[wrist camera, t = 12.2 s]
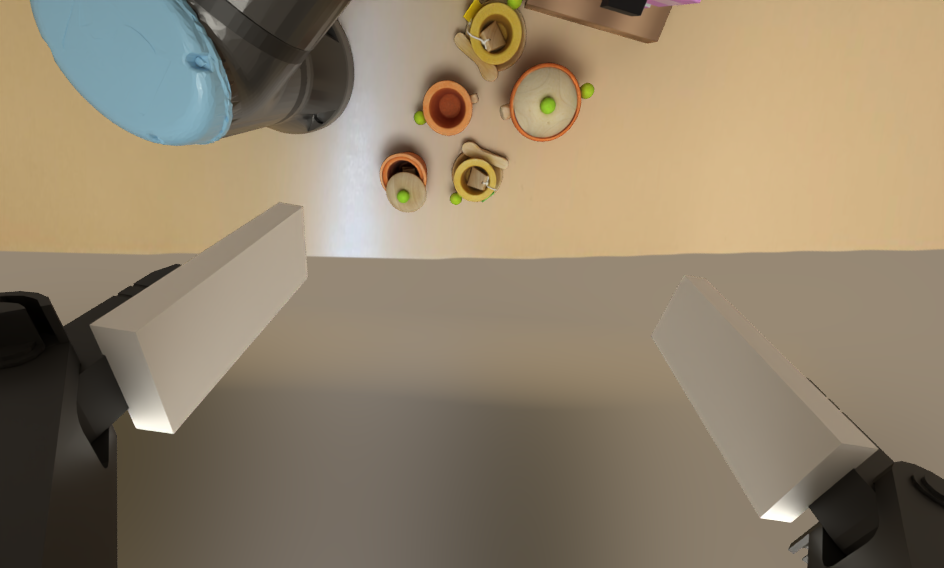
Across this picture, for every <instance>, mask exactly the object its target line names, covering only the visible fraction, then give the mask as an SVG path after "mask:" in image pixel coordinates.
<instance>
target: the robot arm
mask: <svg viewBox="0 0 944 568" xmlns="http://www.w3.org/2000/svg"><path fill="white" fill-rule="evenodd" d="M350 2H351V0H30V3H31V8H32V12H33V15H34V18H35V21H36V24H37V27H38V29H39V32H40V34H41V36H42V38H43V39H44V40H45V42H46V43H47V44H48V46H49V48H50V49H51V52H52V54H53V57H54V60H55V62H56V64H57V65H58V66H59V68H60V69H61V71H62V72H63V74H64V75H65V76H66V78H67V79H68V80H69V82H70V83H71V84H72V85H73V86H74V88H75V89H76V90H77V91H78V92H79V93H80V94H81V95H82V96H83V97H84V98H85V99H86V100H87V101H88V102H89V103H90V104H91V105H92V106H93V107H94V108H95V109H96V110H98V111H99V112H100V113H101V114H102V115H104V116H105V117H106V118H107V119H109V120H110V121H112V122H113V123H114V124H116V125H118V126H119V127H121V128H122V129H124V130H126V131H128V132H130V133H131V134H134V135H136V136H138V137H140V138H142V139H145V140H148V141H151V142H154V143H159V144H163V145H173V146H182V145H193V144H200V145H201V144H209V143H214V141H218V140H219V139H221V138H225V137H229V136H232V135H236V134H240V133H244V132H248V131H251V130H255V129H259V128H263V127H268V128H271V129H273V130H276V131H279V132H283V133H289V134H305V133H310V132H313V131H317V130H319V129H322V128H324V127H326V126H328V125H330V124H331V123H333V122H334V121H335V120H336V119H337V118H338V117H339V116H340V115H341V114H342V112H343V111H344V110H345V108H346V106H347V104H348V102H349V99H350V96H351V93H352V89H353V81H354V67H353V59H352V54H351V50H350V46H349V43H348V41H347V38H346V36H345V33H344V31H343V29H342V27H341V26H340V24H339V22H338V21H337V18H338V17H339V16H340V14H341V13H342V12H343V11H344V9H345V8H346V7H347V5H348V4H349V3H350ZM307 278H308V277H307V262H306V246H305V230H304V214H303V206H298V205H292V204H287V203H281V202H279V203H277V204H276V205H274V206H273V207H271V208H270V209H268V210H266V211H265V212H263V213H262V214H260V215H259V216H257V217H256V218H254V219H253V220H251V221H249V222H248V223H246V224H245V225H243V226H242V227H240V228H239V229H237V230H236V231H234V232H232V233H231V234H229V235H228V236H226V237H225V238H223V239H222V240H220V241H218V242H217V243H215V244H214V245H212V246H211V247H209V248H208V249H206V250H205V251H203V252H201V253H200V254H198V255H197V256H195V257H194V258H192V259H191V260H189V261H188V262H186V263H185V264H183V265H180V264H175V265H172V266H169V267H166V268H163V269H160V270H157V271H154V272H152V273H150V274H149V275H147V276H145V277H144V278H142V279H141V280H139V281H137V282H136V283H134V285H133V286H129V287H127V288H126V289H124V290H122V291H121V292H119V293H118V296H113V297H111V298H109V299H108V300H106V301H105V302H103V303H101V304H99V305H98V306H96V307H95V308H93V309H91V310H90V311H88V312H86V313H85V314H83V315H81V316H80V317H78V318H77V319H75V320H74V321H72V322H70V323H68V324H67V325H65V326H63V325H62V323H61V321H60V320H59V318H58V316H57V314H56V311H55V310H54V307H53V305H52V304H51V302H50V300H49V298H48V297H46V296H44V295H42V294H39V293H34V292H23V291H18V292H5V293H0V568H117V435H116V432H115V430H114V427H113V425H112V424H113V423H114V422H115V421H116V420H117V419H118V418H119V417H120V416H121V415H122V414H123V413H124V412H125V411H126V410H128V412H129V414H130V416H131V418H132V420H133V423H134V425H135V427H136V428H137V429H144V430H151V431H158V432H165V433H172V434H173V433H175V432H176V430H177V429H178V428H179V427H180V426H181V425H182V423H183V422H184V421H185V419H187V418H188V416H189V415H190V414H191V413H192V412H193V411H194V409H195V408H196V407H197V406H198V405H199V404H200V403H201V401H202V400H203V399H204V398H205V397H206V395H207V394H208V393H209V392H210V391H211V390H212V389H213V387H214V386H215V385H216V384H217V383H218V381H219V380H220V379H221V378H222V377H223V376H224V375H225V373H226V372H227V371H228V370H229V369H230V368H231V366H232V365H233V364H234V363H235V362H236V361H237V359H238V358H239V357H240V356H241V355H242V354H243V352H244V351H245V350H246V349H247V348H248V347H249V346H250V344H251V343H252V342H253V341H254V339H255V338H256V337H257V336H258V335H259V334H260V333H261V332H262V330H263V329H264V328H265V327H266V326H267V324H268V323H269V322H270V321H271V320H272V319H273V317H274V316H275V315H276V314H277V313H278V312H279V311H280V309H281V308H282V307H283V306H284V305H285V304H286V302H287V301H288V300H289V299H290V298H291V297H292V295H293V294H294V293H295V292H296V291H297V289H299V287H300V286H301V285H302V284H303V283H304V282H305V280H306V279H307ZM651 337H652V339H653V340H654V342H655V344H656V345H657V347H658V349H659V350H660V352H661V354H662V355H663V357H664V359H665V360H666V362H667V364H668V365H669V367H670V369H671V370H672V372H673V374H674V375H675V377H676V379H677V380H678V382H679V384H680V385H681V387H682V388H683V390H684V392H685V394H686V395H687V397H688V399H689V400H690V402H691V404H692V405H693V407H694V409H695V410H696V412H697V414H698V415H699V417H700V419H701V420H702V422H703V424H704V425H705V427H706V429H707V430H708V432H709V434H710V435H711V437H712V439H713V440H714V442H715V444H716V446H717V447H718V449H719V450H720V452H721V454H722V456H723V457H724V459H725V461H726V462H727V464H728V465H729V467H730V468H731V471H732V472H733V474H734V476H735V477H736V479H737V481H738V482H739V484H740V486H741V487H742V489H743V491H744V492H745V494H746V496H747V497H748V499H749V501H750V502H751V504H752V506H753V507H754V509H755V511H756V512H757V514H758V516H759V517H760V518H764V519H771V520H779V521H785V522H792V521H793V520H795V519H796V518H797V517H798V516H799V515H801V514H802V513H803V512H804V511H805V510H806V509H808V508H810V509H811V511H812V512H813V514H814V515H815V516H816V517H817V519H818V520H819V522H818V523H817V524H816V525H814V526H813V527H812V528H811V529H809V530H808V531H807V532H805V533H804V534H803V535H802V536H800V537H799V538H798V539H796V540H795V541H794V542H793V543H791V545H790V547H789V549H788V550H789V551H790V552H792V553H793V554H794V553H795V552H797V551H798V550H799V549H801V548H807V549H808V555H806V556H805V557H804V558H803V559H802V560H803V561H804V562H806V563H807V564H808V567H807V568H944V479H942V478H940V477H939V476H937V475H935V474H934V473H932V472H930V471H928V470H926V469H924V468H922V467H919V466H917V465H915V464H911V463H907V462H903V461H900V462H893V460H891V459H890V458H889V457H888V456H887V455H886V454H885V453H884V452H883V451H882V450H881V449H880V448H879V447H878V446H877V445H876V444H875V443H874V442H873V441H872V440H871V439H870V438H869V437H868V436H867V435H866V434H865V433H864V432H863V431H862V430H861V429H860V428H859V427H858V426H857V425H856V424H855V423H854V422H852V420H851V419H849V418H848V417H847V416H846V415H845V414H844V413H843V412H841V411H839V410H840V409H839V408H838V407H837V406H836V405H835V404H834V403H833V402H832V401H831V400H830V399H827V398H826V395H825V394H824V393H823V392H822V391H821V390H820V389H819V388H818V387H817V386H816V385H815V384H814V383H813V382H812V381H811V380H809V379H808V378H807V377H805V376H804V375H803V374H802V373H801V372H800V371H799V370H798V369H797V368H796V367H795V366H794V365H793V364H792V363H791V362H790V361H789V360H788V359H787V358H785V356H784V355H783V354H782V353H781V352H780V351H779V350H778V349H777V348H776V347H774V346H773V345H772V344H771V343H770V342H769V341H768V340H767V339H766V338H765V337H764V336H763V335H762V334H761V333H760V332H759V331H758V330H757V329H756V328H755V327H754V326H753V325H752V324H751V323H750V322H749V321H748V320H747V319H746V318H745V317H744V316H743V315H742V314H741V313H740V312H739V311H738V310H737V309H736V308H735V307H734V306H733V305H732V304H731V303H730V302H729V301H728V300H727V299H726V298H725V297H724V296H723V295H722V294H720V292H719V291H717V290H716V289H715V288H714V287H713V286H712V285H711V284H710V283H709V282H708V281H707V280H706V279H705V278H700V277H695V276H689V275H684V276H683V278H682V280H681V282H680V283H679V286H678V287H677V289H676V291H675V293H674V295H673V296H672V298H671V300H670V302H669V304H668V306H667V307H666V309H665V311H664V313H663V315H662V317H661V318H660V320H659V322H658V324H657V326H656V327H655V330H654V331H653V333H652V335H651Z"/></svg>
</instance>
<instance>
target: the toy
mask: <svg viewBox="0 0 944 568" xmlns="http://www.w3.org/2000/svg"><path fill="white" fill-rule="evenodd" d="M700 1H701V0H602V2H601V5H600V7H601V8H605V9H608V10H611V11H615V12H618V13H621V14H625V15H628V16H641V14H642V12H643V10H644V8H650V6H651V5H654V6H658V7H663V6H673V5H683V4H693V3H700Z"/></svg>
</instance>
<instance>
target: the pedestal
mask: <svg viewBox="0 0 944 568" xmlns="http://www.w3.org/2000/svg"><path fill="white" fill-rule="evenodd" d="M601 2H602V0H526V4H525V8H527V9H531V10H534V11H537V12H541V13H544V14H548V15H551V16H555V17H558V18H562V19H565V20H568V21H572V22H575V23H579V24H582V25H586V26H589V27H592V28H596V29H599V30H603V31H606V32H610V33H613V34H617V35H620V36H623V37H627V38H630V39H634V40H637V41H641V42H644V43H652V42H658V39H659V37H660V34H661V32H662V30H663V27H664V25H665V22H666V20H667V18H668V15H669V13H670V10H671V8H672V6H663V7H658V6H654V5H651V6H650V8H644V10H643V12H642V14H641V16H628V15H625V14H621V13H618V12H615V11H611V10H608V9H605V8H601V7H600V5H601Z"/></svg>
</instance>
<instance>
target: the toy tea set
mask: <svg viewBox="0 0 944 568" xmlns="http://www.w3.org/2000/svg"><path fill="white" fill-rule="evenodd" d="M521 3H522V0H507V1H504V0H489V1H486V2H484V3H483V4H481V3H480V2H479V0H474V1H473V2H472V4H471V5H470V7H469V8H468V10H467V11H466V13H465V14H464V16H463V17H464V18H465V19H466V20H467V21H468V24H467V27H466V33H465V35H464V34H463V33H460V32H459V33H457V34H456V36H455V37H454V41H455V44H456V45H457V47H458V48H459V49H460V50H461V51H462V52H464V53H465V54H466V55H467V56H468V57H469V58H470V59H471V60H472V61H474V62H475V63H476V64H477V66H478V67H479V70H480V73H481V75H482V77H483V78H484V79H485V80H486V81H490V82H492V81H495V80H496V78H497V77H498V71H503V70H505V69H507V68H509V67H511V66H512V65H513V64H515V63H516V62H517V60H518V59H519V58H520V56H521V54H522V52H523V50H524V46H525V42H526V27H525V22H524V19H523V17H522V15H521V13H520V12H519V11H518V9H517V8H519V7H520V5H521ZM593 93H594V87H593V85H592V84H590V83H585V84H583V85H582V86H581V87H579V84H578V82H577V80H576V78H575V76H574V75H573V74H572V73H571V72H570V71H569V70H568V69H567V68H566V67H564V66H562V65H559V64H555V63H543V64H538V65H535V66H533V67H532V68H530V69H528V70H527V71H526V72H524V73H523V74H522V75H521V77H520V78H519V79H518V80H517V82H516V84H515V85H514V87H513V90H512V93H511V97H510V103H508V104H505V105H502V106H501V107H500V114H501V117H502V119H503V120H507V119H510V118H512V121H513V124H514V125H515V127H516V129H517V130H518V131H519V132H520V133H521V134H522V135H523V136H525V137H526V138H528V139H531V140H534V141H541V142H543V141H550V140H554V139H556V138H558V137H560V136H562V135H563V134H564V133H566V132H567V131H568V130H569V129H570V128H571V126H572V125H573V124H574V122H575V120H576V119H577V117H578V114H579V111H580V107H581V97H582V98H584V99H587V98H590V97H591V96H592V95H593ZM478 101H479V98H478V95H477V94H476V93H474V94H471V95H469V94H468V92H467V91H466V90H465V88H464V87H463V86H461V85H460V84H458V83H456V82H454V81H450V80H444V81H440V82H437V83H435V84H434V85H432V86H431V87H430V88H429V89H428V91H427V92H426V94H425V96H424V100H423V111H418V112H416V113H415V115H414V120H415V122H416V123H417V124H419V125H423V124H425V123H426V122H427V124H428V125H429V126H430V127H431V129H433V130H434V131H435V132H437V133H439V134H442V135H447V136H450V135H455V134H458V133H460V132H461V131H463V130H464V129H465V128H466V126H467V125H468V124H469V122H470V119H471V116H472V104H474V103H477V102H478ZM462 151H463V153H462V154H461V155H460V156H459V157H458V158H457V159H456V161H455V163H454V165H453V169H452V180H453V183H454V186H455V189H456V191H457V193H453V194H452V195H451V196H450V201H451V203H452V204H455V205H457V204H459V203H460V202H461V200H462V197H463V198H464V199H466V200H468V201H473V202H478V201H482V202H484V201H485V200H486V199H487V198H489V197H490V196H492V195H493V194H494V193H495V192H496V191H497V190H498V189H499V187H500V185H501V182H502V177H503V172H502V169H506V168H507V167H508V160H507V159H505V158H503V157H501V156H498V155H495V154H493V153H491V152H489V151H487V150H485V149H481V148H480V147H479V146H478V145H477V144H476V143H474V142H466V143H464V144H463V146H462ZM380 181H381V184H382V186H383V188H384V189H385V191H386V193H387V198H388V200H389V202H390V203H391V204H392V205H393V206H394V207H395V208H396V209H398V210H400V211H402V212H414V211H416V210H418V209H420V208H421V207H422V206H423V204H424V202H425V200H426V188H425V187H426V182H427V168H426V165H425V163H424V161H423V159H422V158H421V157H420V156H418V155H417V154H415V153H412V152H403V153H397V154H393V155H391V156H389V157H388V158H387V159H385V161H384V162H383V164H382V166H381V168H380Z"/></svg>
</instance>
